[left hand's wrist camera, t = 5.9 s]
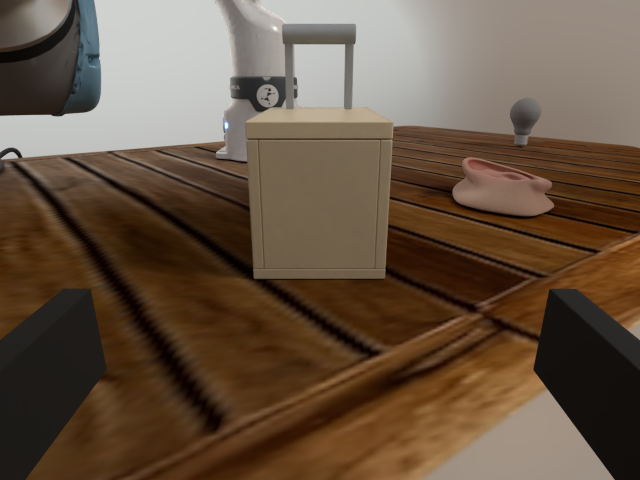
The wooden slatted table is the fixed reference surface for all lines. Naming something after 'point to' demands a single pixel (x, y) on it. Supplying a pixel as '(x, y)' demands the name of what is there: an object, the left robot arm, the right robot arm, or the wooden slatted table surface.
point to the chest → (319, 207)
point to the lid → (319, 119)
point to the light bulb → (524, 118)
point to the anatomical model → (502, 189)
